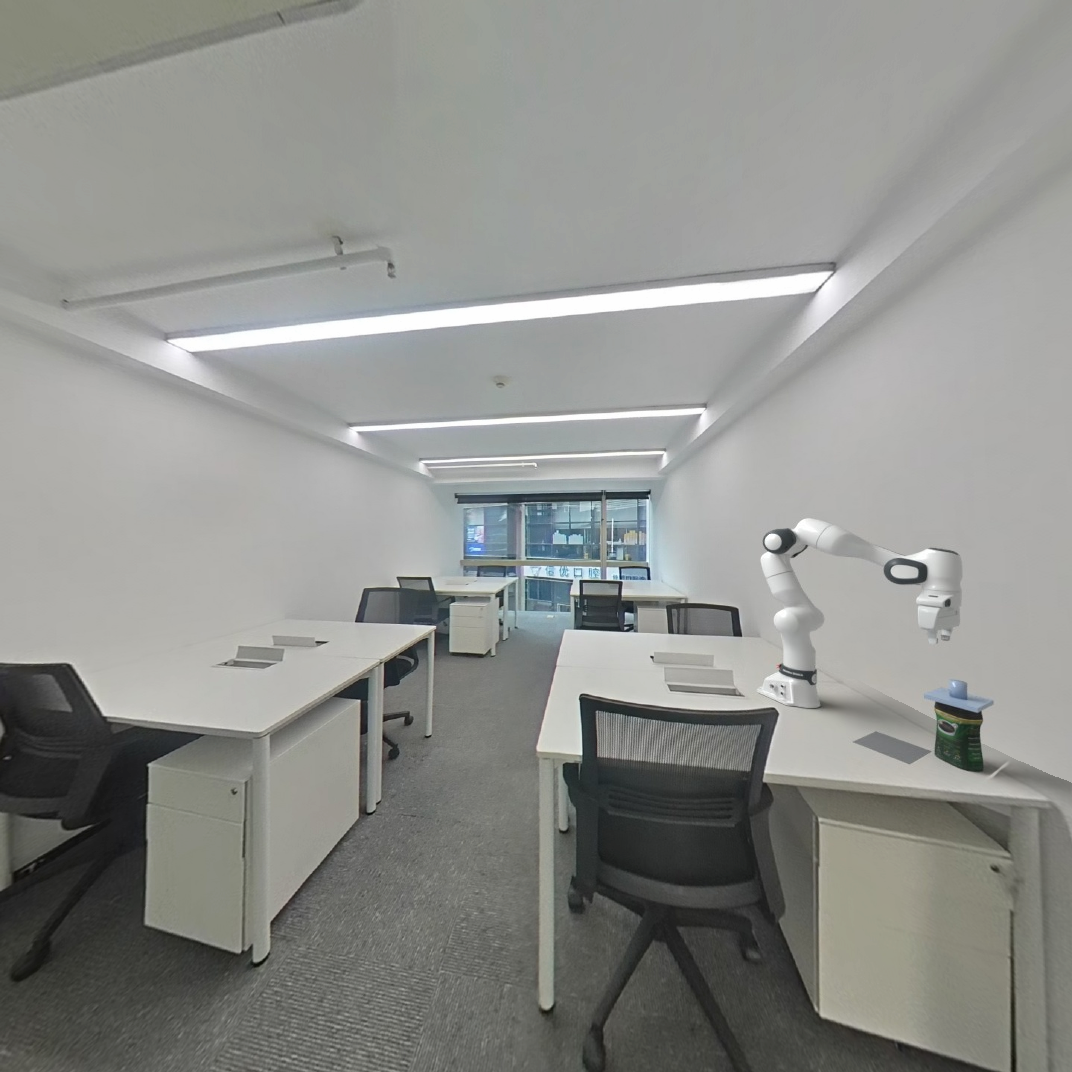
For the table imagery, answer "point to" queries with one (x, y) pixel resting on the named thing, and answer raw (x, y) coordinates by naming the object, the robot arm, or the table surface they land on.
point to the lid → (959, 697)
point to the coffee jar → (958, 737)
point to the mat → (892, 747)
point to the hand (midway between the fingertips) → (939, 642)
